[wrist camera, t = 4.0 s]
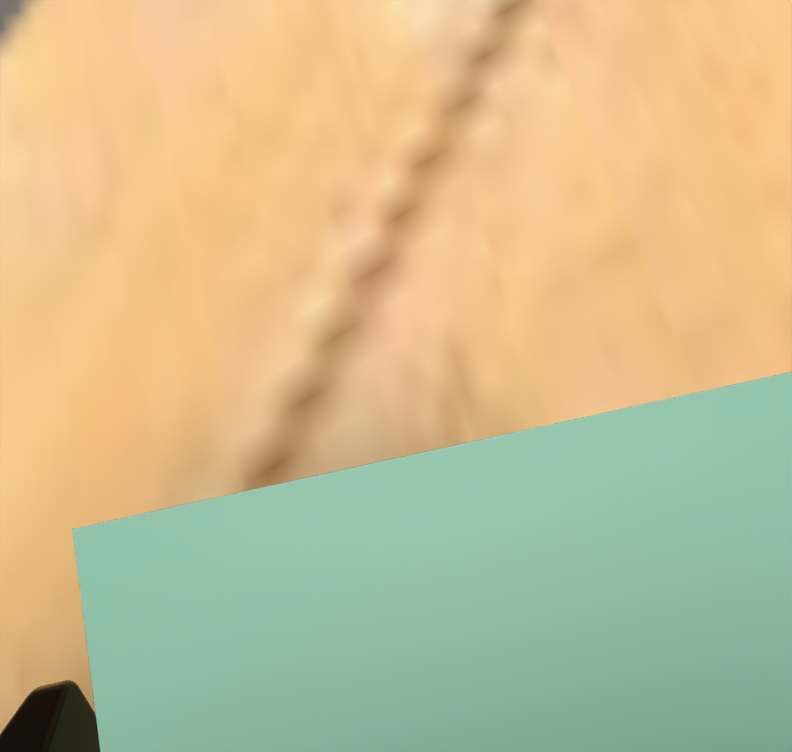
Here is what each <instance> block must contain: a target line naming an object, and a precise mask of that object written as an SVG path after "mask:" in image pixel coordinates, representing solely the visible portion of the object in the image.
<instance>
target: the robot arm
mask: <svg viewBox="0 0 792 752" xmlns="http://www.w3.org/2000/svg"><path fill="white" fill-rule="evenodd" d="M0 752H100V744H99V736H98V728H97V720H96V714H95V713H94V711H93V709H92V708H91V706H90V705H89V703H88V701H87V700H86V698H85V696H84V695H83V693H82V691H81V690H80V688H79V687H78V685H77V684H76V683H75V682H73V681H70V680H66V681H62V682H57V683H53V684H49V685H44V686H41V687H38V688H36V689H35V690H33V691H32V692H31V693H30V694H29V695H28V696H27V698H26V699H25V701H24V702H23V703H22V705H21V706H20V707H19V709H18V710H17V712H16V713H15V714H14V716H13V717H12V718H11V720H10V721H9V723H8V724H7V725H6V727H5V728H4V730H3V731H2V732H1V734H0Z"/></svg>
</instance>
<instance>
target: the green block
mask: <svg viewBox="0 0 792 752" xmlns="http://www.w3.org/2000/svg"><path fill="white" fill-rule="evenodd" d="M72 530H73V538H74V546H75V554H76V562H77V570H78V578H79V586H80V594H81V602H82V609H83V617H84V625H85V633H86V641H87V649H88V657H89V665H90V673H91V681H92V688H93V696H94V704H95V712H96V720H97V728H98V736H99V744H100V752H792V372H788V373H784V374H779V375H775V376H770V377H765V378H761V379H756V380H752V381H747V382H743V383H738V384H733V385H729V386H724V387H720V388H715V389H711V390H706V391H701V392H697V393H692V394H688V395H683V396H679V397H674V398H669V399H665V400H660V401H656V402H651V403H647V404H642V405H637V406H633V407H628V408H624V409H619V410H615V411H610V412H605V413H601V414H596V415H592V416H587V417H582V418H578V419H573V420H569V421H564V422H560V423H555V424H550V425H546V426H541V427H537V428H532V429H528V430H523V431H518V432H514V433H509V434H505V435H500V436H496V437H491V438H486V439H482V440H477V441H473V442H468V443H464V444H459V445H454V446H450V447H445V448H441V449H436V450H432V451H427V452H422V453H418V454H413V455H409V456H404V457H400V458H395V459H390V460H386V461H381V462H377V463H372V464H368V465H363V466H358V467H354V468H349V469H345V470H340V471H336V472H331V473H326V474H322V475H317V476H313V477H308V478H304V479H299V480H294V481H290V482H285V483H281V484H276V485H272V486H267V487H262V488H258V489H253V490H249V491H244V492H240V493H235V494H230V495H226V496H221V497H217V498H212V499H208V500H203V501H198V502H194V503H189V504H185V505H180V506H176V507H171V508H166V509H162V510H157V511H153V512H148V513H144V514H139V515H134V516H130V517H125V518H121V519H116V520H112V521H107V522H102V523H98V524H93V525H89V526H84V527H80V528H75V529H72Z"/></svg>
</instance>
